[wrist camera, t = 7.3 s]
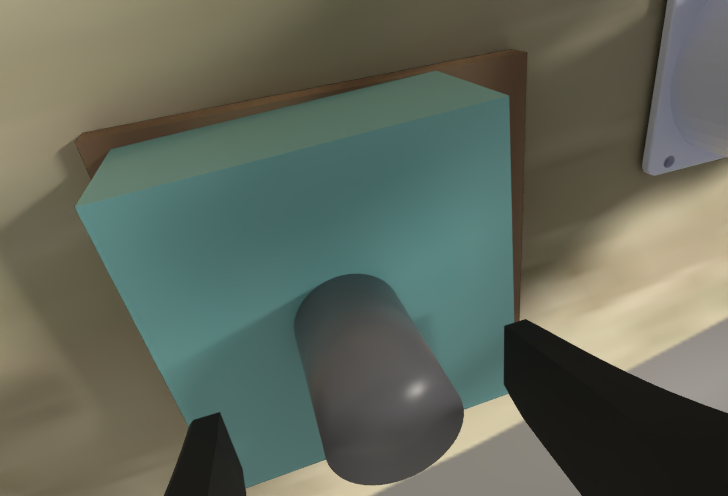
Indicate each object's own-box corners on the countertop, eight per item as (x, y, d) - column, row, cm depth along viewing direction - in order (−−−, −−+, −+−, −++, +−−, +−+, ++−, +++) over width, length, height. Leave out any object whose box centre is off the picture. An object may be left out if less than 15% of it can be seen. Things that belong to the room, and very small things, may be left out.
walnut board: (510, 49, 17) (527, 52, 16) (507, 323, 23) (519, 336, 22) (82, 132, 14) (74, 141, 14) (202, 415, 20) (202, 433, 20)
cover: (436, 70, 15) (632, 138, 8) (459, 317, 20) (594, 493, 13) (110, 149, 14) (6, 316, 7) (221, 395, 19) (229, 642, 12)
